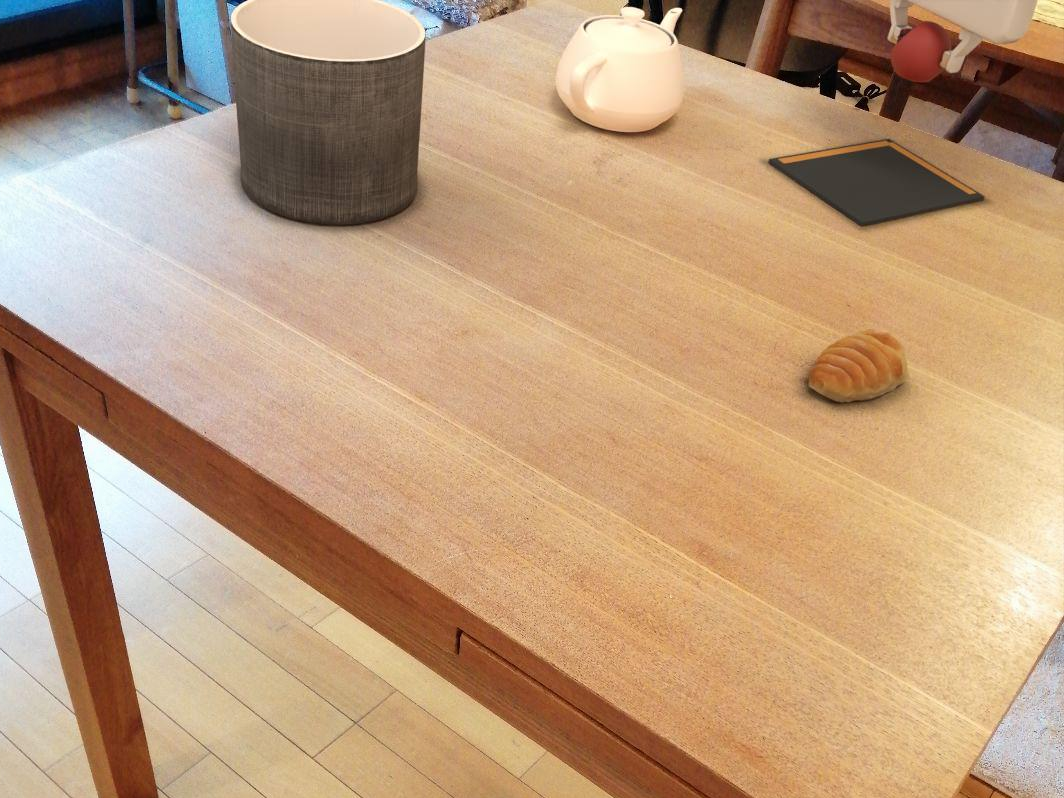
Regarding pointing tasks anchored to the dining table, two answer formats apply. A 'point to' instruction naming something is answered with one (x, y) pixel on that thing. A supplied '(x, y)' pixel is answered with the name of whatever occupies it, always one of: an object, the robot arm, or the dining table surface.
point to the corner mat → (875, 181)
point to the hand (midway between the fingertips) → (921, 56)
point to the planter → (328, 107)
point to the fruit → (921, 52)
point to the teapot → (623, 71)
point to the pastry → (860, 367)
